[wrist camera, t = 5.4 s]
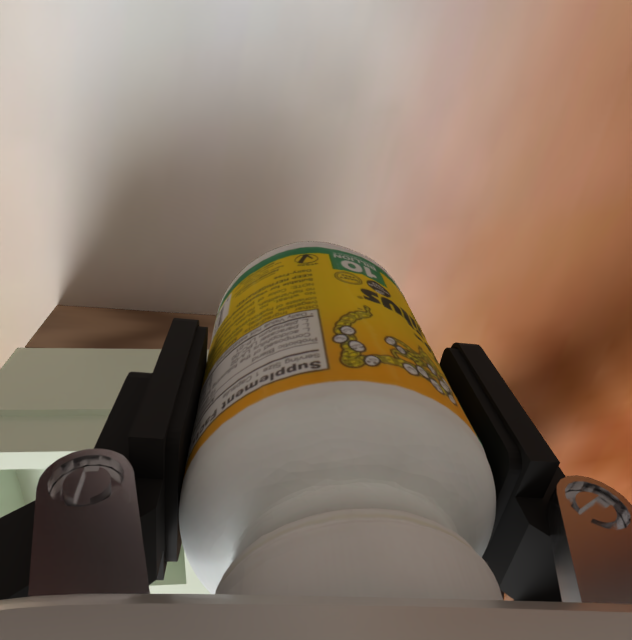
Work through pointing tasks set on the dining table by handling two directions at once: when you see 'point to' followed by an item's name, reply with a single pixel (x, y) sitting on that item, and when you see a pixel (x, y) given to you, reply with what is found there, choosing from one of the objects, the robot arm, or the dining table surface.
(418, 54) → the dining table surface
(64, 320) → the block lower
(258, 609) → the robot arm
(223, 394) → the supplement bottle
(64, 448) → the small green shelf
